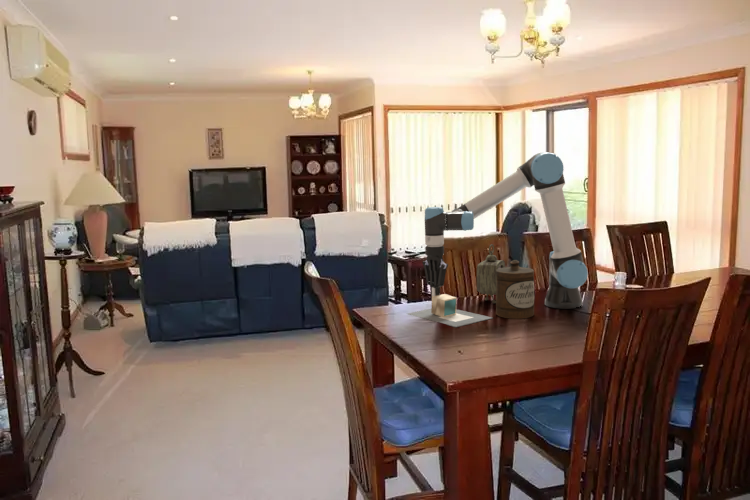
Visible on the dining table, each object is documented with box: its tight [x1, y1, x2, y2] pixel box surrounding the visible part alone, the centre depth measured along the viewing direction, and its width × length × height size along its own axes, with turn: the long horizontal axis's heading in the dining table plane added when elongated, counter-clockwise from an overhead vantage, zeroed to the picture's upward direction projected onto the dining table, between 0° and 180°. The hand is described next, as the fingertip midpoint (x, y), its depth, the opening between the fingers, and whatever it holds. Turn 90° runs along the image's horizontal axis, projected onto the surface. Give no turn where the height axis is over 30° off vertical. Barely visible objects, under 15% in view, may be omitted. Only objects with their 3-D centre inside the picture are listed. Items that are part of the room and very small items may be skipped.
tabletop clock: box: [476, 243, 506, 304], centre depth 285 cm, size 14×9×25 cm, turn 154°
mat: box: [407, 307, 493, 328], centre depth 261 cm, size 29×20×1 cm
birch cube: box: [430, 293, 457, 317], centre depth 263 cm, size 7×7×7 cm
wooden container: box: [495, 259, 535, 320], centre depth 259 cm, size 15×15×22 cm
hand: (435, 302), depth 267 cm, fingers closed
